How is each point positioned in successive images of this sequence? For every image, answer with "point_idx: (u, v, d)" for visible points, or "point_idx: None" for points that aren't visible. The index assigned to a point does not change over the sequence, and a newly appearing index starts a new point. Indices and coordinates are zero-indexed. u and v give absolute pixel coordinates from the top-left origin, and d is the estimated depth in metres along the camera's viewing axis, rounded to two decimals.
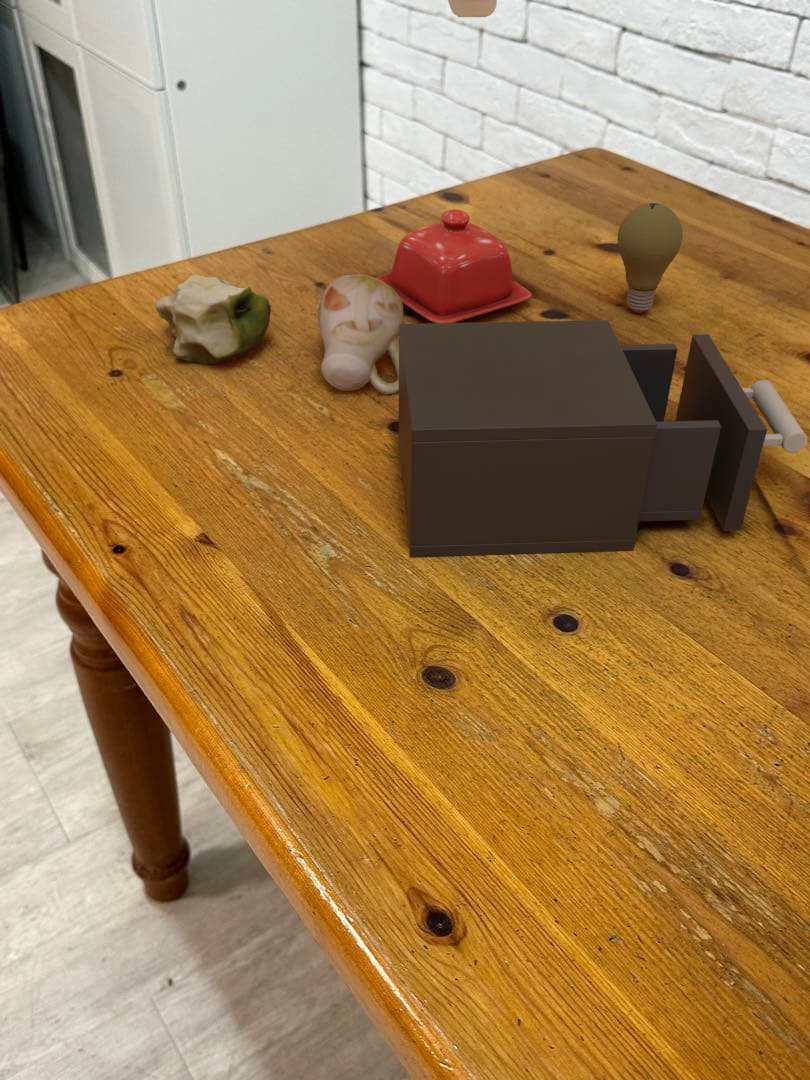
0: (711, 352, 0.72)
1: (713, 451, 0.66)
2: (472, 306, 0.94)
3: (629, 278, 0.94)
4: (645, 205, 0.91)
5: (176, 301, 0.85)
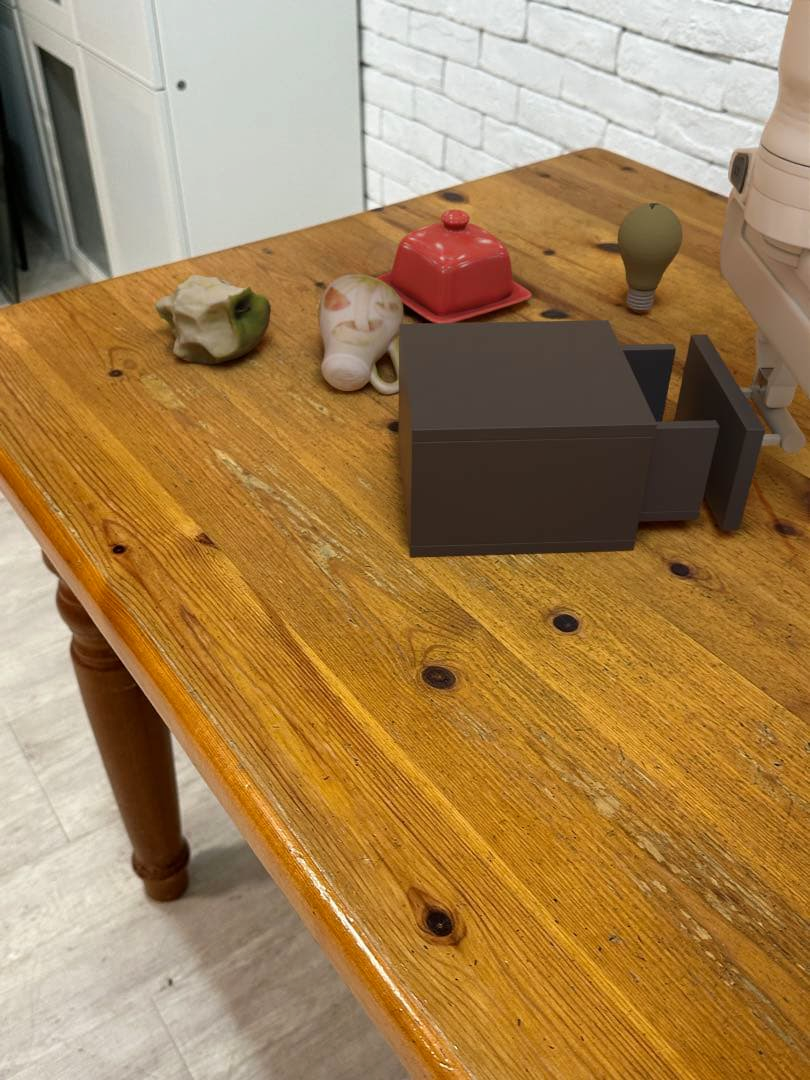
0: (709, 352, 0.72)
1: (711, 451, 0.66)
2: (472, 306, 0.94)
3: (629, 278, 0.94)
4: (645, 205, 0.91)
5: (176, 301, 0.85)
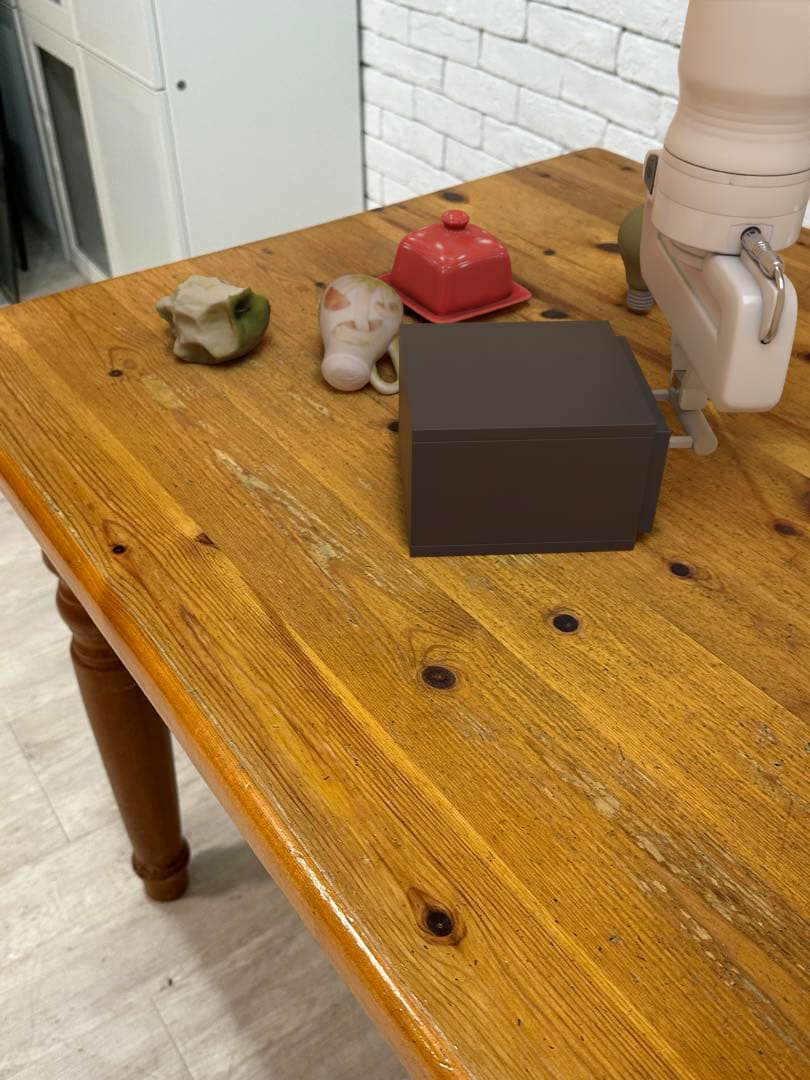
0: (625, 354, 0.72)
1: None
2: (472, 306, 0.94)
3: (629, 278, 0.94)
4: None
5: (176, 301, 0.85)
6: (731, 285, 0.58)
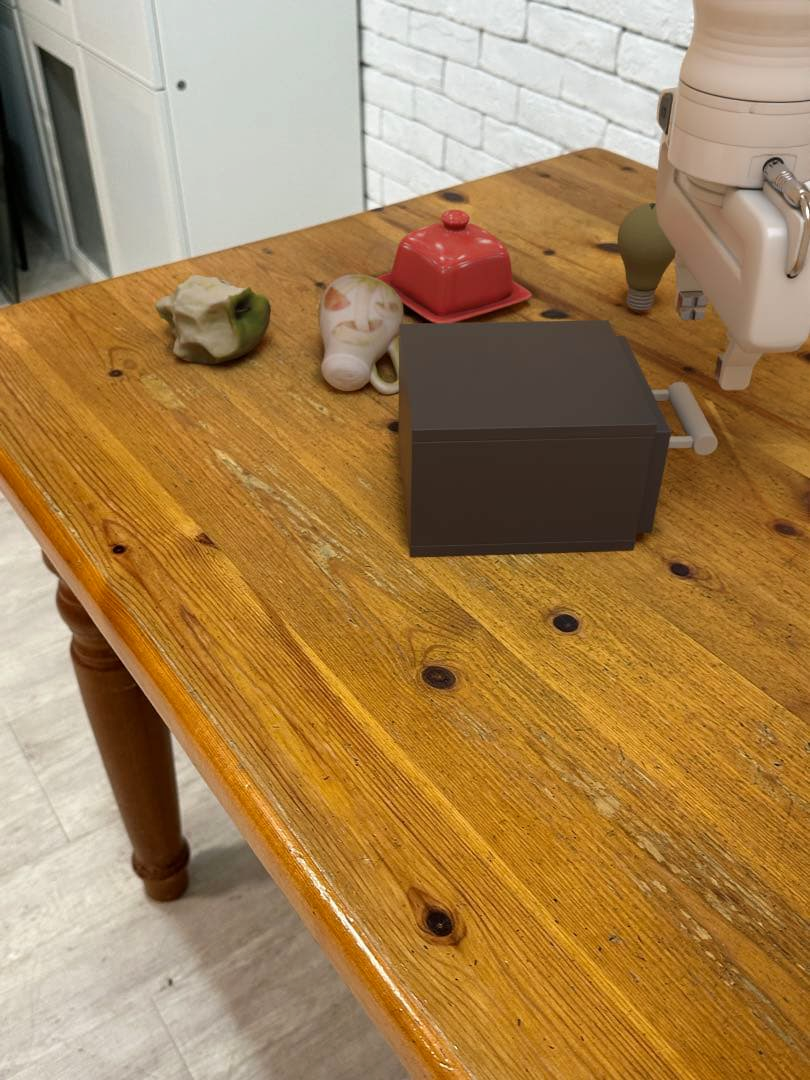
0: (625, 354, 0.72)
1: None
2: (472, 306, 0.94)
3: (629, 278, 0.94)
4: (645, 205, 0.91)
5: (176, 301, 0.85)
6: (755, 218, 0.56)
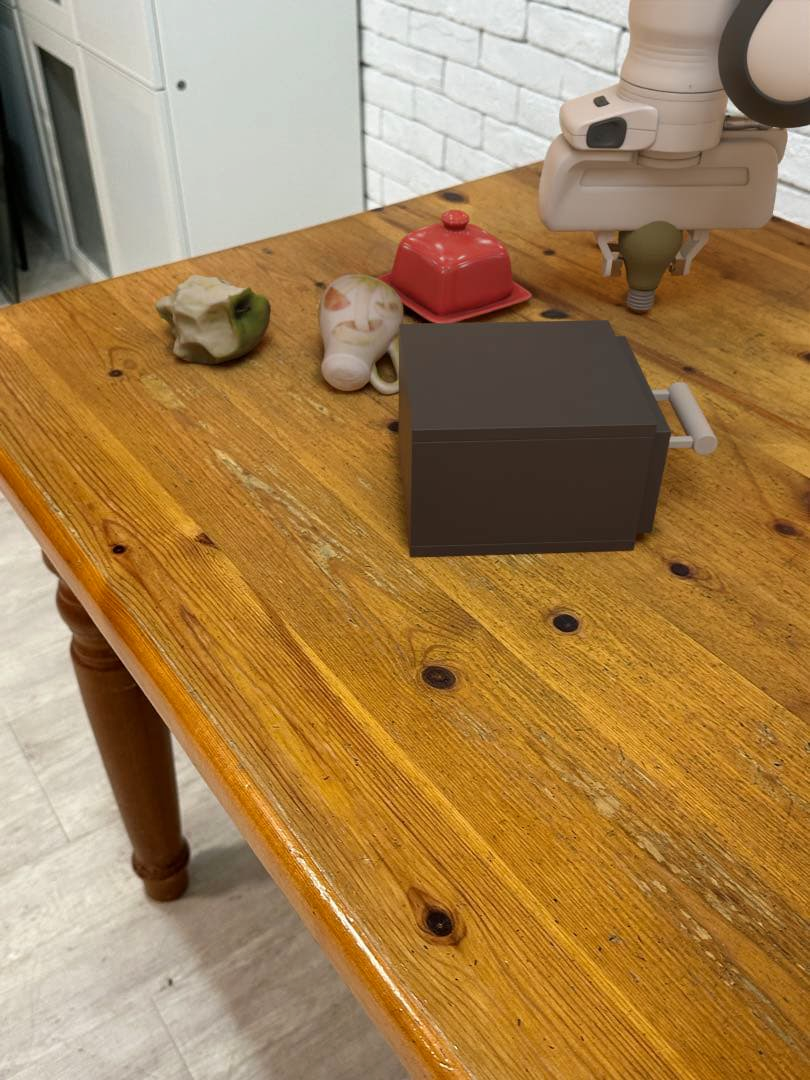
0: (625, 354, 0.72)
1: None
2: (472, 306, 0.94)
3: (629, 278, 0.94)
4: None
5: (176, 301, 0.85)
6: (759, 147, 0.86)
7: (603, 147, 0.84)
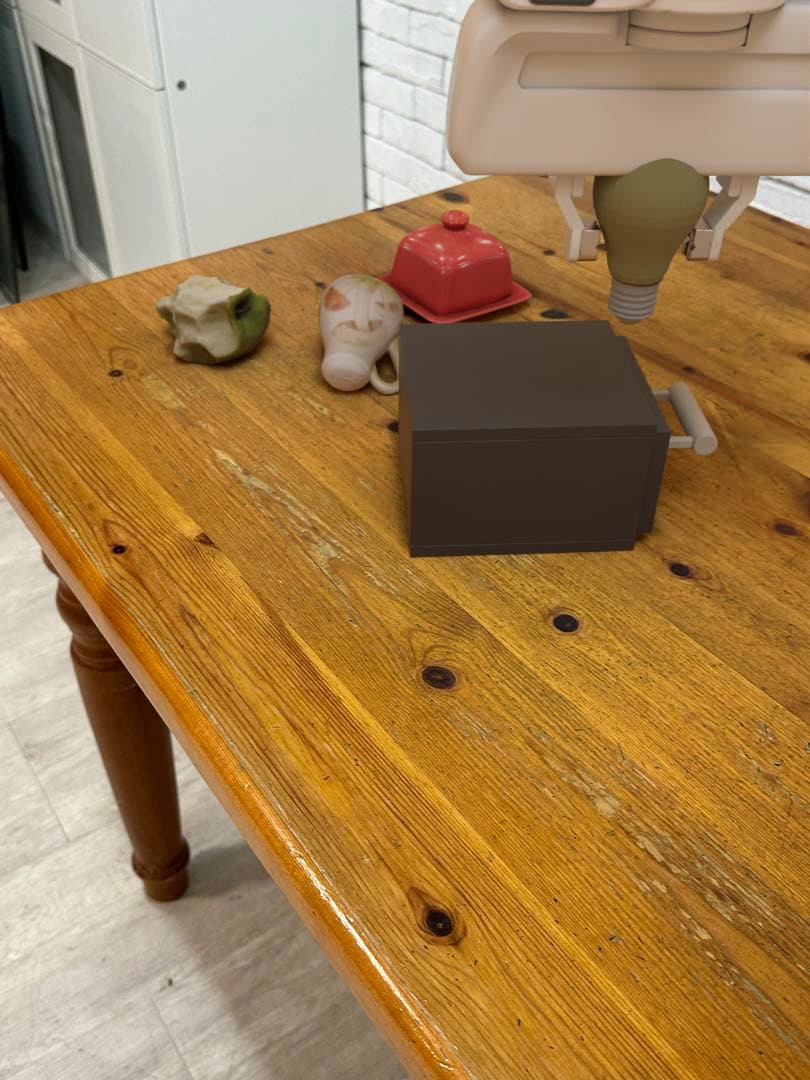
0: (625, 354, 0.72)
1: None
2: (472, 306, 0.94)
3: (613, 263, 0.53)
4: None
5: (176, 301, 0.85)
6: None
7: (560, 3, 0.43)
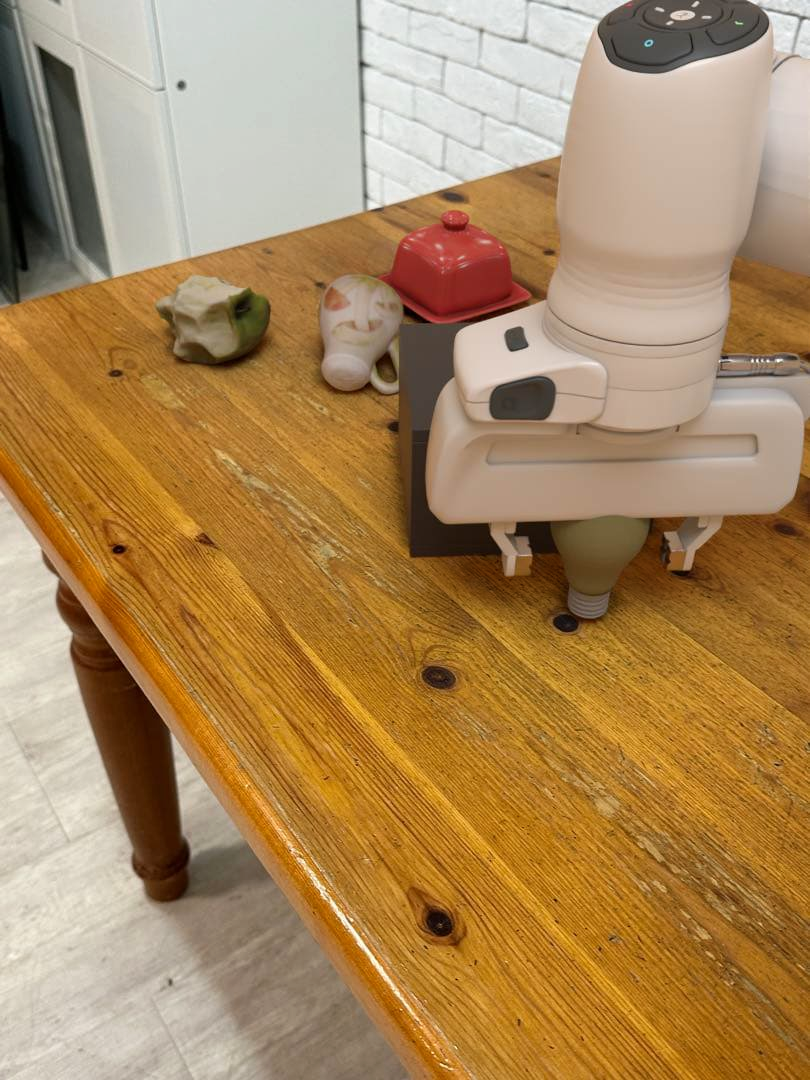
0: None
1: None
2: (471, 307, 0.94)
3: (569, 577, 0.61)
4: None
5: (176, 301, 0.85)
6: (775, 406, 0.53)
7: (518, 419, 0.51)
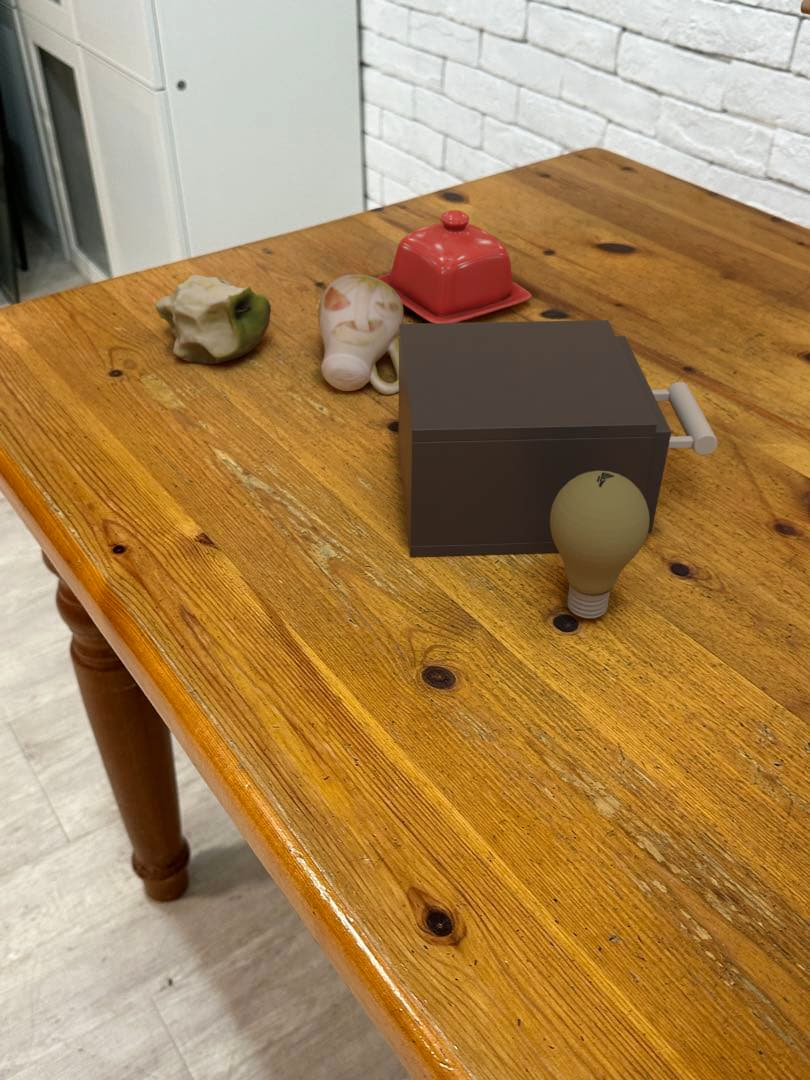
0: (625, 354, 0.72)
1: None
2: (471, 307, 0.94)
3: (569, 576, 0.61)
4: (591, 478, 0.58)
5: (176, 301, 0.85)
6: None
7: None
